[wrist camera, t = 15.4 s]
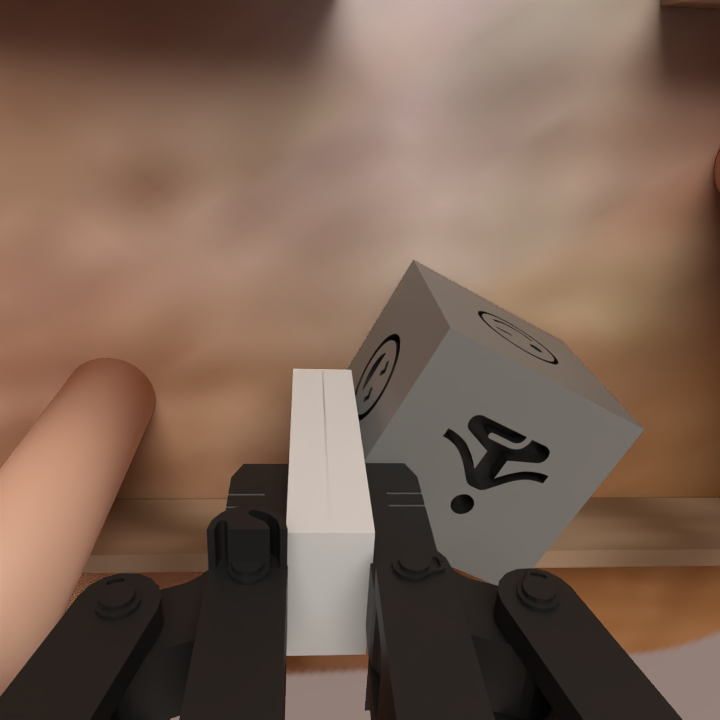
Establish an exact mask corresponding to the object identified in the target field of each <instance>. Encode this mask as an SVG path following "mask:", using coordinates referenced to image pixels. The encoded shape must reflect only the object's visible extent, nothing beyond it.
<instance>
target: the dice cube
mask: <svg viewBox="0 0 720 720" xmlns="http://www.w3.org/2000/svg"><path fill="white" fill-rule="evenodd" d="M348 370H351V371H352V378H353V385H354V392H355V399H356V406H357V412H358V419H359V426H360V433H361V440H362V447H363V454H364V460H365V463H405V464H406V465H407V466H408V467H409V469H410V470H411V471H412V472H413V473H414V474H415V475H416V476H417V477H418V481H419V485H420V489H421V494H422V496H423V500H424V503H425V507H426V511H427V515H428V518H429V522H430V526H431V529H432V533H433V537H434V541H435V544H436V548H437V551H438V552H440V553H441V554H442V555H443V556H445V557H446V559H447V560H448V562H449V564H450V566H451V567H453V568H455V569H458V570H460V571H462V572H465V573H467V574H470V575H472V576H474V577H477V578H479V579H482V580H484V581H486V582H489V583H491V584H494V585H497V586H498V584H499V580H500V579H501V578H502V577H503V576H504V575H505V574H506V573H508V572H510V571H513V570H516V569H524V568H534V566H535V565H536V564H537V563H538V561H539V560H540V559H541V558H542V557H543V555H544V554H545V553H546V552H547V550H548V549H549V548H550V547H551V545H552V544H553V543H554V542H555V540H556V539H557V538H558V537H559V535H560V534H561V533H562V532H563V530H564V529H565V528H566V527H567V525H568V524H569V523H570V522H571V520H572V519H573V518H574V517H575V515H576V514H577V513H578V512H579V511H580V509H581V508H582V507H583V506H584V504H585V503H586V502H587V501H588V499H589V498H590V497H591V496H592V494H593V493H594V492H595V491H596V489H597V488H598V487H599V486H600V484H601V483H602V482H603V481H604V479H605V478H606V477H607V476H608V474H609V473H610V472H611V471H612V469H613V468H614V467H615V466H616V465H617V463H618V462H619V461H620V460H621V458H622V457H623V456H624V455H625V453H626V452H627V451H628V450H629V448H630V447H631V446H632V445H633V443H634V442H635V441H636V440H637V438H638V437H639V436H640V435H641V433H642V432H643V431H644V428H643V427H642V426H641V425H640V424H639V423H638V422H637V421H636V420H635V419H634V418H633V417H632V416H631V414H630V413H629V412H628V411H627V410H626V409H625V408H624V407H623V406H622V405H621V404H620V403H619V401H618V400H617V399H616V398H615V397H614V396H613V395H612V394H611V393H610V392H609V391H608V390H607V389H606V387H605V386H604V385H603V384H602V383H601V382H600V381H599V380H598V379H597V378H596V377H595V376H594V374H593V373H592V372H591V371H590V370H589V369H588V368H587V367H586V366H585V365H584V364H583V363H582V362H581V360H580V359H579V358H578V357H577V356H576V355H575V354H574V353H573V352H572V351H571V350H570V349H569V348H568V346H567V345H566V344H565V343H564V342H563V341H561V340H559V339H557V338H555V337H553V336H552V335H550V334H548V333H546V332H544V331H542V330H541V329H539V328H537V327H535V326H533V325H531V324H530V323H528V322H526V321H524V320H522V319H520V318H519V317H517V316H515V315H513V314H511V313H510V312H508V311H506V310H504V309H502V308H500V307H499V306H497V305H495V304H493V303H491V302H489V301H488V300H486V299H484V298H482V297H480V296H478V295H477V294H475V293H473V292H471V291H469V290H467V289H466V288H464V287H462V286H460V285H458V284H456V283H455V282H453V281H451V280H449V279H447V278H446V277H444V276H442V275H440V274H438V273H436V272H435V271H433V270H431V269H429V268H427V267H425V266H424V265H422V264H420V263H418V262H416V261H414V260H413V262H412V263H411V265H410V267H409V268H408V270H407V272H406V273H405V275H404V277H403V278H402V280H401V282H400V283H399V285H398V287H397V288H396V290H395V292H394V293H393V295H392V297H391V298H390V300H389V302H388V303H387V305H386V307H385V308H384V310H383V312H382V313H381V315H380V317H379V318H378V320H377V322H376V323H375V325H374V326H373V328H372V330H371V331H370V333H369V335H368V336H367V338H366V340H365V341H364V343H363V345H362V346H361V348H360V350H359V351H358V353H357V355H356V356H355V358H354V360H353V361H352V363H351V365H350V366H349V368H348Z"/></svg>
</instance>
